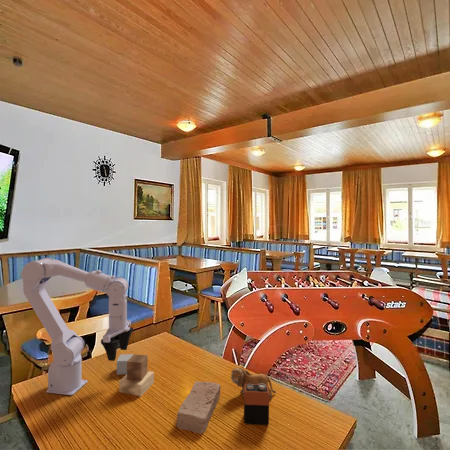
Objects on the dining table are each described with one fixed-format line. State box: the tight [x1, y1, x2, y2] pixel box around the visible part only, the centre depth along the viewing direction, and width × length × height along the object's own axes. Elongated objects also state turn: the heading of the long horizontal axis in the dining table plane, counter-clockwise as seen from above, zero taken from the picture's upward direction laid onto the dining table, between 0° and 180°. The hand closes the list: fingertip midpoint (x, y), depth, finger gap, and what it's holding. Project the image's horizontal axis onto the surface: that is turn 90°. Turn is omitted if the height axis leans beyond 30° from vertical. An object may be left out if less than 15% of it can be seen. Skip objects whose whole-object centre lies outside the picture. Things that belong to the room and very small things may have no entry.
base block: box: [118, 370, 155, 397], centre depth 96 cm, size 8×8×4 cm
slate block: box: [116, 353, 134, 376], centre depth 106 cm, size 5×5×5 cm
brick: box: [176, 380, 222, 435], centre depth 84 cm, size 17×8×5 cm, turn 166°
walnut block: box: [126, 353, 149, 381], centre depth 96 cm, size 5×5×6 cm
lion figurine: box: [230, 367, 277, 400], centre depth 92 cm, size 15×5×9 cm, turn 96°
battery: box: [243, 383, 270, 426], centre depth 81 cm, size 4×7×10 cm, turn 87°
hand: (117, 354), depth 97 cm, fingers open, 7 cm apart
